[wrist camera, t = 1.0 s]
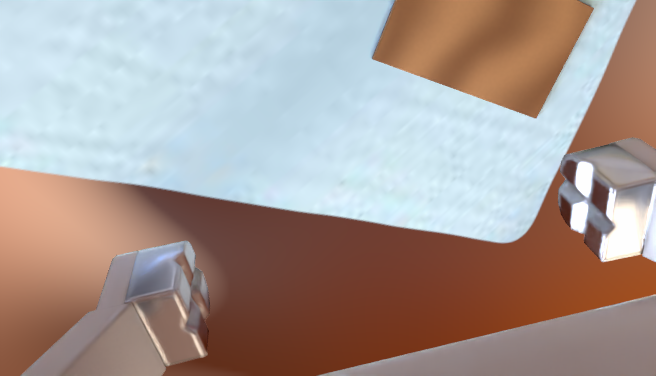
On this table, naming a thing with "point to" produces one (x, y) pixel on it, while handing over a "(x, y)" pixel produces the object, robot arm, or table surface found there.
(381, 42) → the brown flat rectangular panel
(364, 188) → the table surface
